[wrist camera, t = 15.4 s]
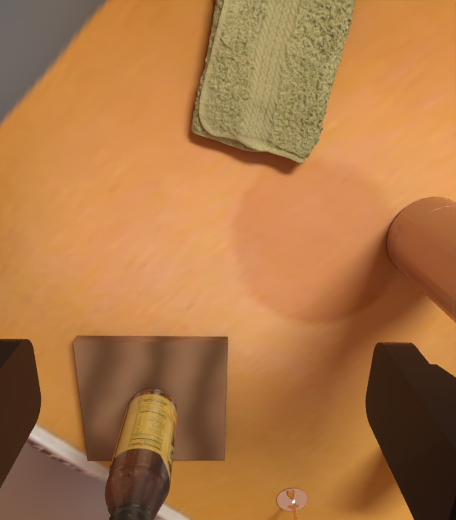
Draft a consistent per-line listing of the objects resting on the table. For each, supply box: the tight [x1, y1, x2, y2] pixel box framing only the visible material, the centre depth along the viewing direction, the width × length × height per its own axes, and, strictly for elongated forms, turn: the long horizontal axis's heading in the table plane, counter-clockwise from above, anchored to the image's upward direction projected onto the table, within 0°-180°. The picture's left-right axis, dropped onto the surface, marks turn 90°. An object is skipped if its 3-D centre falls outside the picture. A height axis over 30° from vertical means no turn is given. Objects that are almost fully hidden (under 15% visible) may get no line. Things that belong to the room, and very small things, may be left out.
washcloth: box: [191, 0, 355, 163], centre depth 39 cm, size 13×18×3 cm
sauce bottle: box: [105, 389, 177, 520], centre depth 44 cm, size 7×6×20 cm
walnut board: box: [73, 336, 228, 461], centre depth 54 cm, size 18×18×2 cm
